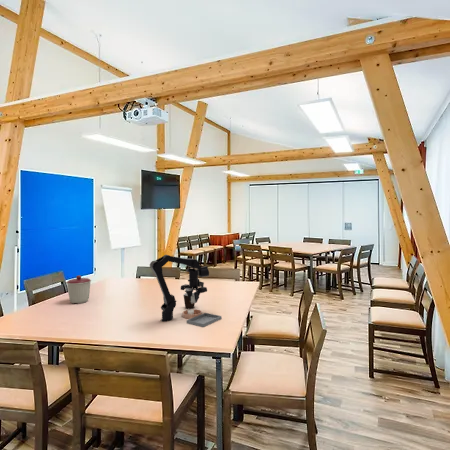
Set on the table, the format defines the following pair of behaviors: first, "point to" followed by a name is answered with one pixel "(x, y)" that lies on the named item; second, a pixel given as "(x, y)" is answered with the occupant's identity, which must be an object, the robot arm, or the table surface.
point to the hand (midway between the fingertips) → (193, 301)
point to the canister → (78, 289)
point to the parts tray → (204, 319)
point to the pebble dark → (193, 299)
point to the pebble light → (191, 312)
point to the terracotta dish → (196, 313)
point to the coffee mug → (188, 302)
